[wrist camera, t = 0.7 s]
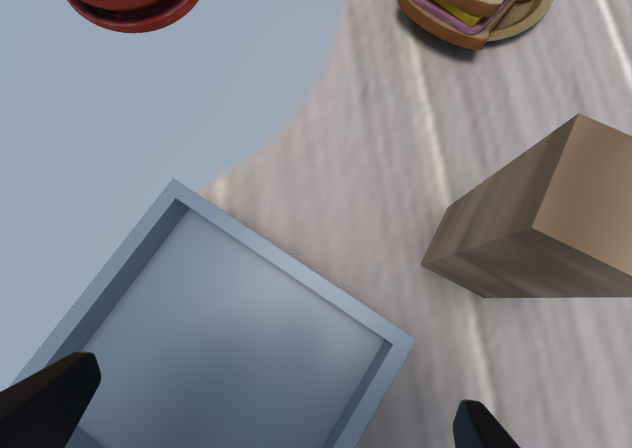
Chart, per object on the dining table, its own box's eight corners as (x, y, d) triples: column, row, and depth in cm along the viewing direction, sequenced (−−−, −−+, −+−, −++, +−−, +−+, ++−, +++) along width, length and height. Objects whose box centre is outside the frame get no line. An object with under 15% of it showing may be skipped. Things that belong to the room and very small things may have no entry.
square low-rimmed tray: (392, 329, 21) (416, 339, 16) (266, 545, 19) (244, 640, 14) (206, 205, 23) (173, 178, 18) (70, 386, 21) (-15, 415, 16)
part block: (509, 237, 23) (713, 172, 11) (484, 297, 22) (674, 297, 10) (448, 207, 23) (578, 113, 11) (420, 264, 22) (531, 227, 11)
